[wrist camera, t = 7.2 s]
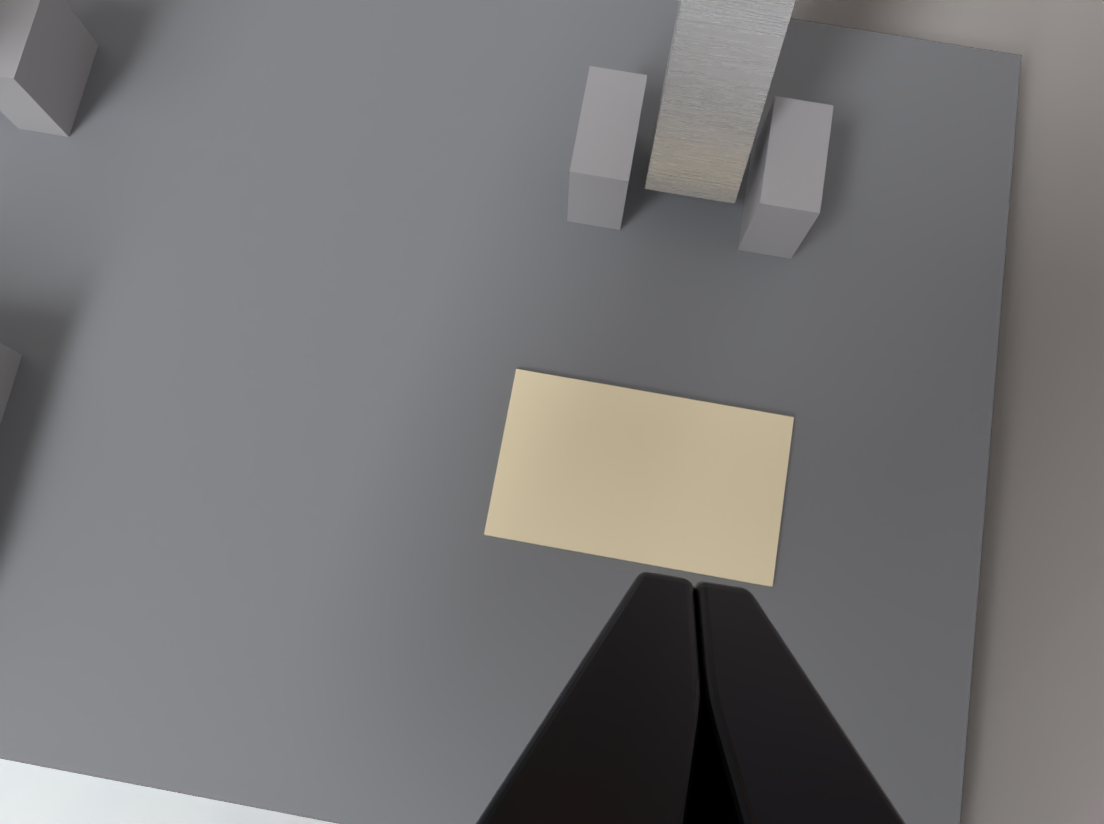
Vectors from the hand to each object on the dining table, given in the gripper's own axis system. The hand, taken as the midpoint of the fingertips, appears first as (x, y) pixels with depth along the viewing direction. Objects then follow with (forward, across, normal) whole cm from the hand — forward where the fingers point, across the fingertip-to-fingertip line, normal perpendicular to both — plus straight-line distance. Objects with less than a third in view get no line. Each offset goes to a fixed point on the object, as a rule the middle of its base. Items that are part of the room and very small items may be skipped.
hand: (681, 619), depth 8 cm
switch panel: (+11, +7, +5) cm, 14 cm away
